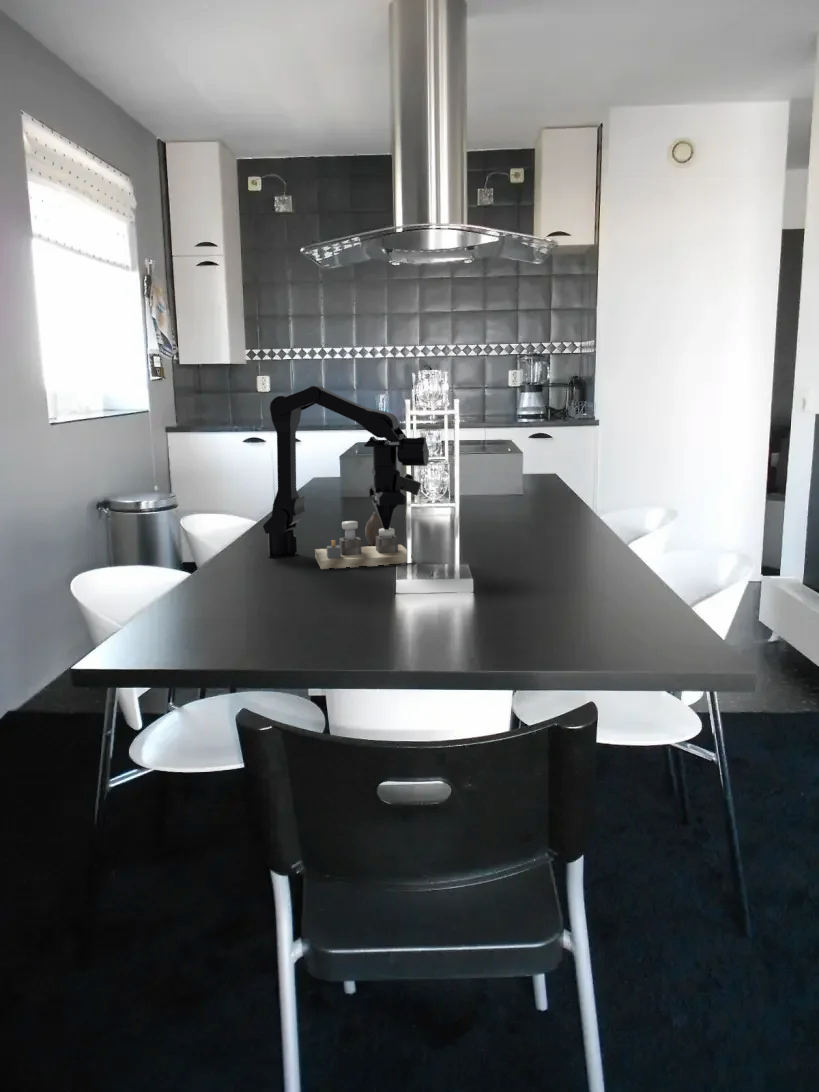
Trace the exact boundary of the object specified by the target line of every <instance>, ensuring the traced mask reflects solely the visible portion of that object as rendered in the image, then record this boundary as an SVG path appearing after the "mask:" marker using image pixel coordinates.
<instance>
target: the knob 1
mask: <svg viewBox="0 0 819 1092" xmlns="http://www.w3.org/2000/svg"><path fill="white" fill-rule="evenodd" d="M358 523H359V521H356V520H348V521H347V520H345V521H342V522H341V529H342V530H344V537H345V540H355V537H356V529H358V528H359V527H358V526H359V525H358Z"/></svg>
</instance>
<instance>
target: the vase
mask: <svg viewBox="0 0 819 1092" xmlns="http://www.w3.org/2000/svg"><path fill="white" fill-rule="evenodd" d="M365 524H366V525H365V529H364V535H365V539H366V541H367V542H368V544H369V545H371V546H373V545H375V546H376V536H379V529H381V528H383V526H382V523H381V521H380V519H379V516H378V514H377V512H376V511H373V512H372V515H371V516H370V517H369V519H368V521H367V522H366V523H365ZM389 528H391V526H390V527H389Z"/></svg>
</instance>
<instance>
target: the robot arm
mask: <svg viewBox="0 0 819 1092" xmlns="http://www.w3.org/2000/svg"><path fill="white" fill-rule="evenodd" d="M270 401H271V402H270V404H269V412H270V418H271V422H272V424H273V427H274V430H275V431H276V454H277V455H276V458H277V460H276V461H277V462H276V463H277V465H276V466H277V491H276V495H275V497H274V500H273V503H272V509H271V517H270V518H269V519H268V520H267V521H266V522H265V523H264V524H263V526H262V527H263V530H264V532H265V534H267V535H268V538H267V539H268V540H267V541H268V557H269V558H284V557H285V558H286V557H295V556H296V553H297V551H298V549H297V535H295V533H294V529H296V528H297V524H298V522H300V520H301V519H302V517H303V514H304V513H305V512H306V510H305V496H304V495H301V496H300V494H299V493H298V490H297V452H296V451H297V448H296V447H297V443H296V442H297V439H296V433H297V429H298V427H299V425H300V421H301V415H302V411H303V410H307V409H308V408H310V407H312V406H314V405H316V404H317V405H318V406H321V407H323V408H325V409H327V410H329V411H332V412H334V413H335V414H339V415H340V416H343V417H345V418H347V419H350V420H351V421H353V422H356V423H357V424H358V425H360V427H362V428H363V429H364V430H365V431H367V432H368V433H370V434H371V435H373V436H370V437H369V439H368V440H367V442H366V443H364V445H363V446H364V447H366V448H372V463H373V464H372V465H373V467H372V469H371V474H372V475H373V483H372V484H370V485H369V486H368V487H367V496H368V497H369V498H370V497H372V496H374V499H371V502H372V504H373V507H374V509H375V512H377V514H378V516H379V519H380V521H381V523H382V526H383V528H384V530H388V529H389V527H390V528H391V522H392V517H393V514H394V513H393V512H394V510H395V509H396V507H398V506H403V505H406V495H404V493H403V492H401V491H404V492H408V493H411V494H412V495H414V496H418V494H419V491H420V489H421V485H422V483H421V482H420V481H418V480H415V479H414V477H413V475H412V474H409V473H406V472H405V474H404V475H403V476H402V475H401V471H400V470H399V469H398V462H399V463H401V464H402V466H404V467H406V466H407V467H410V466H412V467H427V466H428V463H429V460H430V459H429V457H430V451H429V448H428V447H429V446H428V444H427V437H426V436H420V437H407V436H406V434H405V432H404V431H403V430H402V428H401V427H400V425H399V420H398V418H397V416H396V415H395V414H394V413H392V412H387V411H384V410H380V409H376V408H370V407H366V406H364V405H361V404H358V403H356V402H355V401H352V400H350V399H348V398H346V397H343V396H341V395H339V394H337V393H334V392H332V391H330V390H329V389H326V388H324V387H323V386H321V385H312V386H309V387H308V388H306V389H304V390H301V391H297V392H295V393H293V394H292V393H291V394H290V395H278V396H276V397H274V398H273V399H272V400H270ZM377 438H380V439H377Z"/></svg>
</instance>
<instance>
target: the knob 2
mask: <svg viewBox="0 0 819 1092" xmlns="http://www.w3.org/2000/svg"><path fill="white" fill-rule="evenodd" d="M394 535H395V528H391V527H390V528H389V529H388V530H384V528H381V529H379V536H382V538H392V536H394Z"/></svg>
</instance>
